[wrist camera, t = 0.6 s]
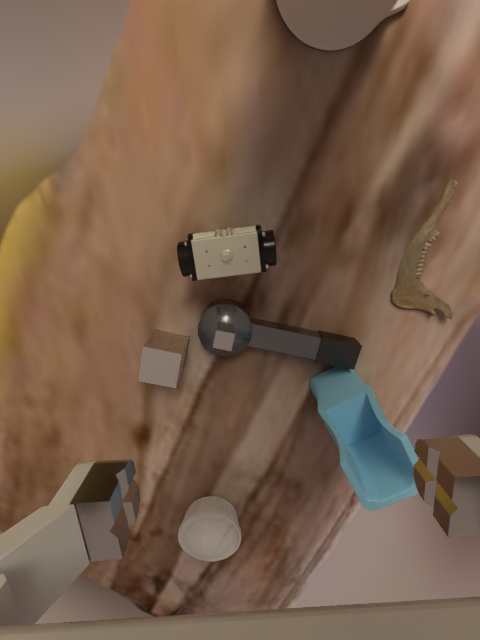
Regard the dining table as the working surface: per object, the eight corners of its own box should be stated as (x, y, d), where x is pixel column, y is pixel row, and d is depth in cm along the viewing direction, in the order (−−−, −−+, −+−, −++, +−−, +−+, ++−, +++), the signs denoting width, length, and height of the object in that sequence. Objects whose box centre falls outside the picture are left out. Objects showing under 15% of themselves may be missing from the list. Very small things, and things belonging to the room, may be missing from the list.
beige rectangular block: (155, 329, 54) (143, 346, 47) (189, 336, 54) (181, 354, 47) (150, 360, 55) (138, 381, 48) (183, 366, 55) (175, 388, 49)
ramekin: (245, 532, 66) (245, 559, 61) (188, 539, 67) (184, 565, 62) (236, 486, 63) (236, 510, 58) (177, 494, 63) (171, 518, 58)
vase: (349, 359, 55) (407, 435, 36) (368, 397, 57) (432, 488, 38) (305, 380, 56) (339, 465, 37) (325, 416, 58) (367, 514, 39)
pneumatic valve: (270, 258, 50) (279, 271, 39) (192, 268, 51) (178, 284, 39) (266, 220, 49) (275, 221, 37) (186, 230, 49) (170, 235, 38)
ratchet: (205, 294, 52) (200, 307, 45) (358, 326, 53) (376, 343, 46) (196, 342, 54) (189, 361, 47) (343, 371, 56) (358, 394, 49)
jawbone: (388, 321, 54) (392, 325, 52) (387, 186, 49) (392, 185, 47) (447, 316, 53) (454, 319, 51) (454, 177, 48) (462, 175, 46)
